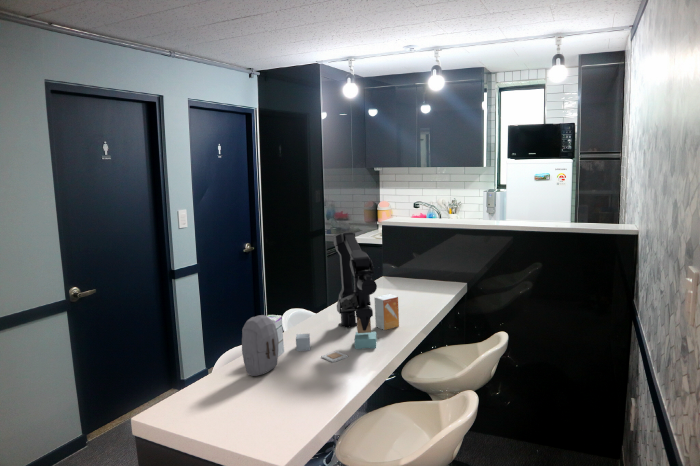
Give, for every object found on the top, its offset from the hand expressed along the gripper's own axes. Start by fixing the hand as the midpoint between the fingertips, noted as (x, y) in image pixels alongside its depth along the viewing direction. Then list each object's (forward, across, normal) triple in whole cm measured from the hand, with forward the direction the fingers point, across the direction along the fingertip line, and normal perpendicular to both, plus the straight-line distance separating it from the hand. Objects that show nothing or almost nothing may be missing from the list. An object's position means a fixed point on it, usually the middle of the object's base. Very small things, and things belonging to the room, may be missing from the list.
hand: (363, 328), depth 196 cm
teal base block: (+7, 0, 0) cm, 7 cm away
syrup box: (+7, +4, -34) cm, 35 cm away
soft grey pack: (+7, +20, -36) cm, 42 cm away
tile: (+6, +11, -12) cm, 17 cm away
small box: (+7, -19, +11) cm, 23 cm away
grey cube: (+7, 0, -24) cm, 25 cm away
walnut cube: (+1, 0, 0) cm, 1 cm away
